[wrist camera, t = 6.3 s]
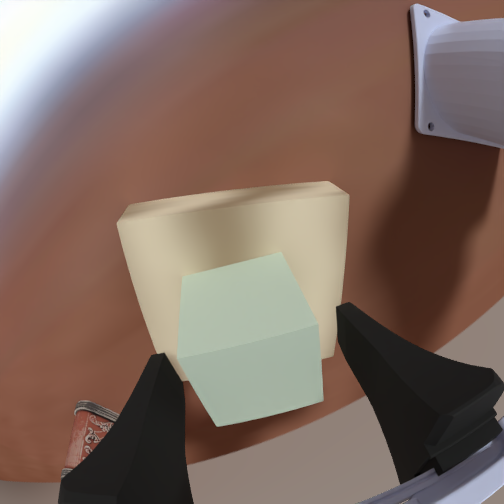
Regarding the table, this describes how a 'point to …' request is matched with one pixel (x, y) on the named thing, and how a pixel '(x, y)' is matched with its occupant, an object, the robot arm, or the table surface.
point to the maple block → (236, 248)
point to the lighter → (87, 432)
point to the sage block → (249, 340)
